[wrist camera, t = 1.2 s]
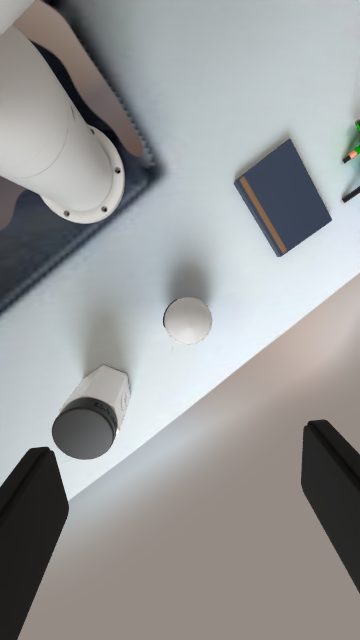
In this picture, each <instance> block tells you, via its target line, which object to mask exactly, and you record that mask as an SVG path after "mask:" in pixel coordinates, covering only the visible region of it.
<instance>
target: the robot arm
mask: <svg viewBox="0 0 360 640" xmlns="http://www.w3.org/2000/svg"><path fill="white" fill-rule="evenodd" d="M35 1H36V0H0V176H2V177H4V178H6V179H8V180H10V181H13V182H15V183H17V184H19V185H21V186H23V187H25V188H27V189H29V190H31V191H33V192H35V193H38V194H40V196H41V197H42V199H43V200H44V202H45V203H46V204H47V205H48V206H49V207H50V209H51V210H52V211H54V212H55V213H56V214H58V215H59V216H61V217H63V218H65V219H67V220H69V221H72V222H76V223H81V224H90V223H94V222H98V221H100V220H103V219H105V218H106V217H108V216H109V215H110V214H111V213H112V212H113V211H114V210H115V209H116V208H117V206H118V205H119V203H120V201H121V199H122V196H123V193H124V187H125V172H124V167H123V163H122V160H121V158H120V155H119V153H118V152H117V150H116V148H115V146H114V145H113V144H112V142H111V141H110V140H109V139H108V138H107V137H106V136H105V135H104V134H103V133H102V132H101V131H99V130H98V129H96V128H94V127H92V126H90V125H88V124H86V122H85V121H84V119H83V118H82V116H81V115H80V113H79V112H78V110H77V108H76V107H75V105H74V104H73V102H72V101H71V99H70V98H69V96H68V95H67V93H66V91H65V90H64V88H63V87H62V85H61V84H60V82H59V81H58V79H57V78H56V76H55V74H54V73H53V71H52V70H51V68H50V67H49V65H48V64H47V62H46V61H45V59H44V58H43V57H42V55H41V54H40V53H39V51H38V50H37V49H36V48H35V46H34V45H33V44H32V43H31V42H30V41H29V40H28V39H27V38H26V37H25V36H24V35H23V34H22V33H21V32H20V31H19V30H18V29H17V28H16V27H14V26H13V25H12V24H13V23H14V22H15V21H16V20H17V19H18V18H19V17H20V16H21V15H22V14H23V13H24V12H25V11H26V10H27V9H28V8H29V7H30V6H31V5H32V4H33V3H34V2H35ZM93 134H94V135H93ZM118 171H120V173H119V174H118V173H117V172H118ZM105 209H107V212H105ZM68 213H70V215H69V216H68ZM301 474H302V475H301V485H302V489H303V492H304V494H305V496H306V497H307V499H308V501H309V503H310V505H311V507H312V508H313V510H314V512H315V514H316V515H317V517H318V519H319V521H320V523H321V525H322V526H323V528H324V530H325V532H326V534H327V535H328V537H329V539H330V541H331V543H332V544H333V546H334V548H335V550H336V551H337V553H338V555H339V557H340V559H341V561H342V562H343V564H344V566H345V568H346V569H347V571H348V573H349V575H350V577H351V578H352V580H353V582H354V584H355V586H356V587H357V589H358V591H359V593H360V454H359V453H358V452H357V451H356V450H355V449H354V448H353V447H352V446H351V445H350V444H349V443H348V442H347V441H346V440H345V439H344V438H343V437H342V435H340V433H339V432H338V431H337V430H336V429H335V428H334V427H333V426H332V425H331V424H330V423H329V422H328V421H327V420H315V421H309V422H308V425H307V426H305V427H304V432H303V452H302V472H301ZM68 511H69V505H68V501H67V497H66V493H65V490H64V486H63V483H62V479H61V475H60V472H59V468H58V464H57V461H56V457H55V454H54V452H53V451H50V449H49V447H38V448H31V449H29V450H28V451H27V452H26V454H25V455H24V456H23V458H22V459H21V460H20V462H19V463H18V464H17V466H16V467H15V468H14V470H13V471H12V472H11V474H10V475H9V476H8V478H7V479H6V480H5V482H4V483H3V484H2V486H1V487H0V640H17V639H18V636H19V634H20V631H21V629H22V626H23V624H24V622H25V619H26V617H27V614H28V612H29V609H30V607H31V605H32V602H33V600H34V597H35V595H36V592H37V590H38V587H39V585H40V583H41V580H42V578H43V575H44V572H45V570H46V568H47V565H48V563H49V560H50V558H51V556H52V553H53V551H54V548H55V546H56V543H57V541H58V539H59V536H60V534H61V531H62V529H63V526H64V524H65V521H66V519H67V516H68Z"/></svg>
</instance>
